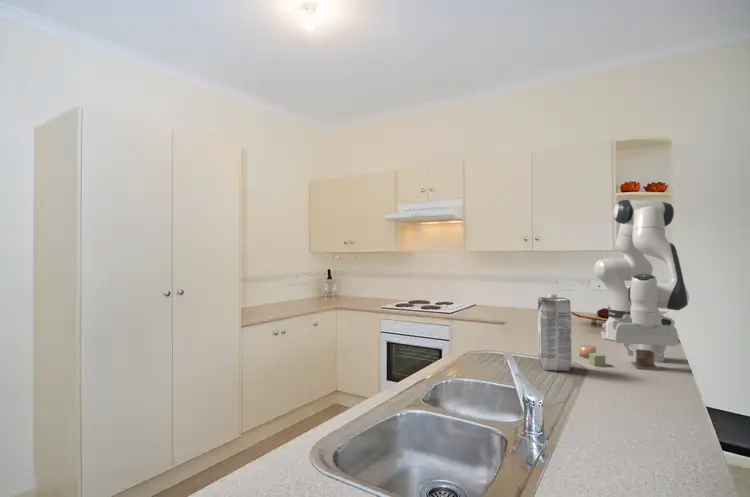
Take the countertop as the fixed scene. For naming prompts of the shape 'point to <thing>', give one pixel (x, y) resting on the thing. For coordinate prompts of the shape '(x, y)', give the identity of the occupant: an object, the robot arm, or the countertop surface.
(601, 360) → the olive block
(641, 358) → the walnut block
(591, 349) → the peach glossy ball
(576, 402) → the countertop surface
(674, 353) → the countertop surface
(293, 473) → the countertop surface
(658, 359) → the cup
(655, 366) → the slate coaster
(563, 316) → the juice carton
